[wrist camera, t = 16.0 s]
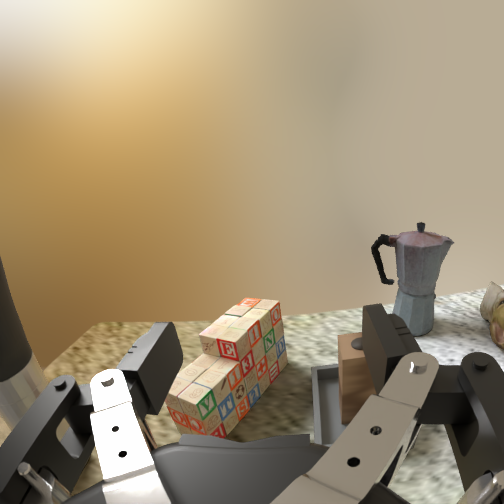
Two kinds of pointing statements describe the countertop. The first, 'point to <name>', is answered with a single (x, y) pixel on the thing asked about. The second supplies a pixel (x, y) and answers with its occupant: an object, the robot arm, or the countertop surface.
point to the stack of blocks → (229, 369)
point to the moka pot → (414, 274)
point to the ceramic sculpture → (494, 312)
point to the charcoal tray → (327, 405)
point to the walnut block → (352, 376)
